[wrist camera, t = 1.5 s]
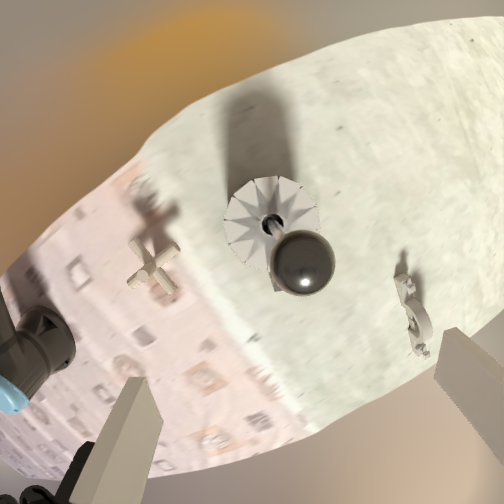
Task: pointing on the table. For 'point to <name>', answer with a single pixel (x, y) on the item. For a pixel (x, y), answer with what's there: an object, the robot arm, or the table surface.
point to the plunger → (299, 258)
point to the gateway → (414, 315)
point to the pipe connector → (153, 265)
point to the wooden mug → (257, 208)
